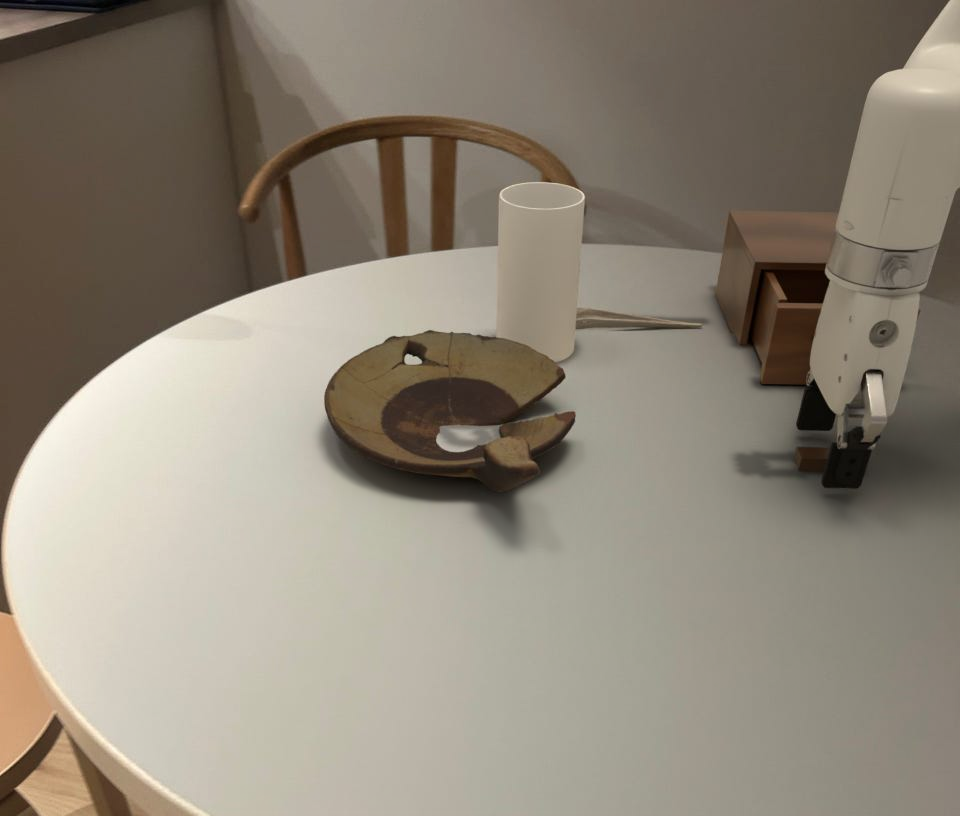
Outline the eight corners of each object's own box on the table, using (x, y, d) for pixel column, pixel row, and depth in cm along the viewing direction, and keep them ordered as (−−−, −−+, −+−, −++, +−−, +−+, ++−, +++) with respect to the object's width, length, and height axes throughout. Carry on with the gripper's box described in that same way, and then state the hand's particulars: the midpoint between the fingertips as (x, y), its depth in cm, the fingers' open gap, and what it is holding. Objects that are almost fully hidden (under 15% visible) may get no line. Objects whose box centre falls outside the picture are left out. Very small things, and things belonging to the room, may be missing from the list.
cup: (484, 362, 103) (486, 202, 93) (512, 331, 109) (516, 177, 99) (558, 376, 101) (569, 214, 91) (583, 344, 107) (595, 188, 96)
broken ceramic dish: (563, 378, 101) (568, 305, 96) (586, 553, 78) (594, 468, 73) (343, 376, 101) (337, 302, 96) (302, 550, 78) (291, 465, 73)
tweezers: (545, 335, 108) (548, 317, 107) (543, 318, 112) (545, 301, 111) (703, 346, 109) (707, 329, 108) (695, 329, 113) (699, 312, 112)
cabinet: (875, 354, 105) (901, 264, 99) (737, 352, 106) (754, 261, 99) (839, 296, 117) (860, 212, 111) (715, 294, 117) (729, 210, 111)
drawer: (910, 407, 95) (935, 328, 90) (769, 404, 95) (786, 326, 90) (858, 325, 109) (878, 253, 104) (736, 323, 109) (749, 251, 104)
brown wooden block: (846, 464, 88) (852, 445, 87) (854, 481, 86) (860, 461, 85) (740, 462, 89) (744, 443, 87) (745, 479, 86) (749, 459, 85)
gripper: (969, 305, 68) (898, 513, 80) (896, 220, 82) (844, 409, 93) (860, 302, 69) (805, 511, 80) (805, 219, 82) (763, 408, 93)
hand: (826, 456), depth 86 cm, fingers open, 9 cm apart
